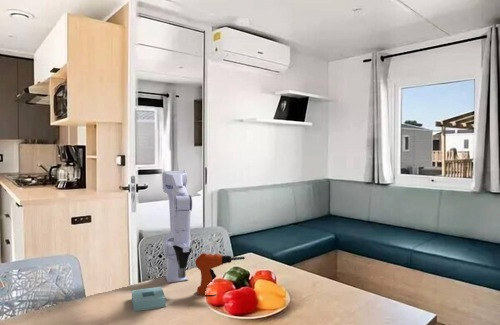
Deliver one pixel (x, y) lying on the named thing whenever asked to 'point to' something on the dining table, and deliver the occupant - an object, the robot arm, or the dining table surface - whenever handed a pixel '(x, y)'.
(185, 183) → the robot arm
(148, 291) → the block
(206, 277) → the toy drill
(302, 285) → the dining table surface
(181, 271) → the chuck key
